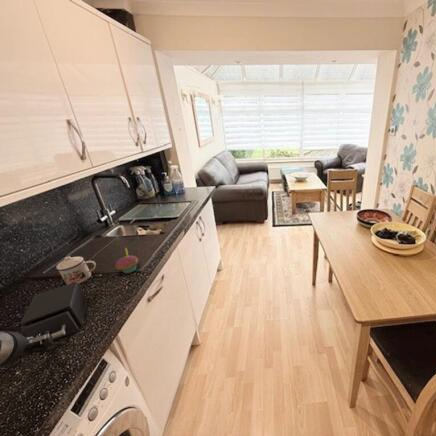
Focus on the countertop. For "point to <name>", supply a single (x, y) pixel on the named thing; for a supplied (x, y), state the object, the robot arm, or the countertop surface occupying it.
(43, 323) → the drawer
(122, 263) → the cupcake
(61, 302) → the cabinet
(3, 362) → the robot arm
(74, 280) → the teacup with lid
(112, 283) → the countertop surface
